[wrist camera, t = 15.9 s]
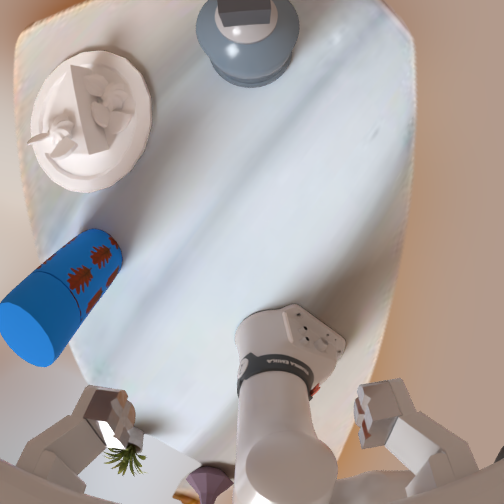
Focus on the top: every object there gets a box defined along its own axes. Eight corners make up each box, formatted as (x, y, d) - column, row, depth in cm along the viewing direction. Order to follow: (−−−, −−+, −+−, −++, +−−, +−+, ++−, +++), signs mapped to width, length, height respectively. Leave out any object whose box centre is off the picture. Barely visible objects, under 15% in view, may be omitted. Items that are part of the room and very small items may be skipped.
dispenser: (294, 85, 41) (314, 67, 25) (213, 91, 42) (188, 76, 26) (287, 15, 36) (302, -34, 20) (208, 21, 37) (182, -24, 21)
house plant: (145, 416, 73) (131, 464, 58) (168, 442, 79) (158, 486, 64) (107, 417, 75) (90, 459, 60) (131, 442, 81) (119, 482, 66)
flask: (183, 459, 84) (174, 510, 65) (232, 463, 83) (229, 515, 65) (191, 478, 90) (184, 522, 72) (235, 481, 90) (233, 527, 72)
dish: (145, 198, 49) (118, 219, 39) (32, 184, 48) (-5, 201, 38) (165, 50, 39) (139, 34, 29) (42, 58, 38) (3, 53, 28)
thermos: (100, 217, 50) (12, 287, 27) (134, 264, 54) (69, 356, 31) (65, 246, 53) (-15, 318, 30) (97, 288, 56) (33, 374, 34)
